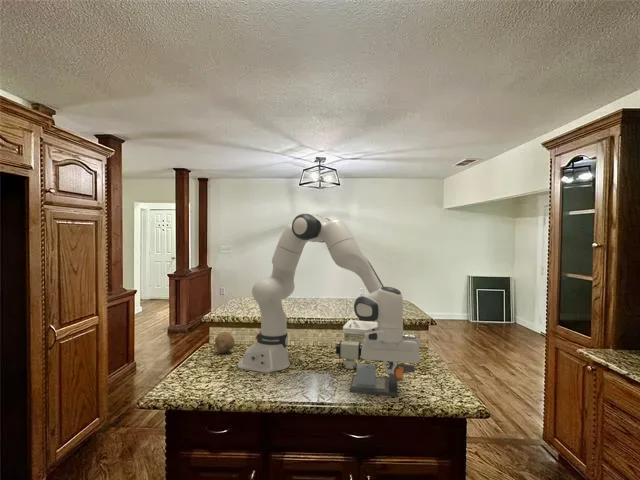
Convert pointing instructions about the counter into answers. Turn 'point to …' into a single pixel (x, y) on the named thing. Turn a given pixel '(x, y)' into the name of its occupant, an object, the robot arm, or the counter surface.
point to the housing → (366, 374)
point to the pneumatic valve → (349, 352)
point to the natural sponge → (224, 342)
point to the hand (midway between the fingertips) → (389, 373)
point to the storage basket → (357, 330)
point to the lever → (399, 373)
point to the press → (381, 383)
